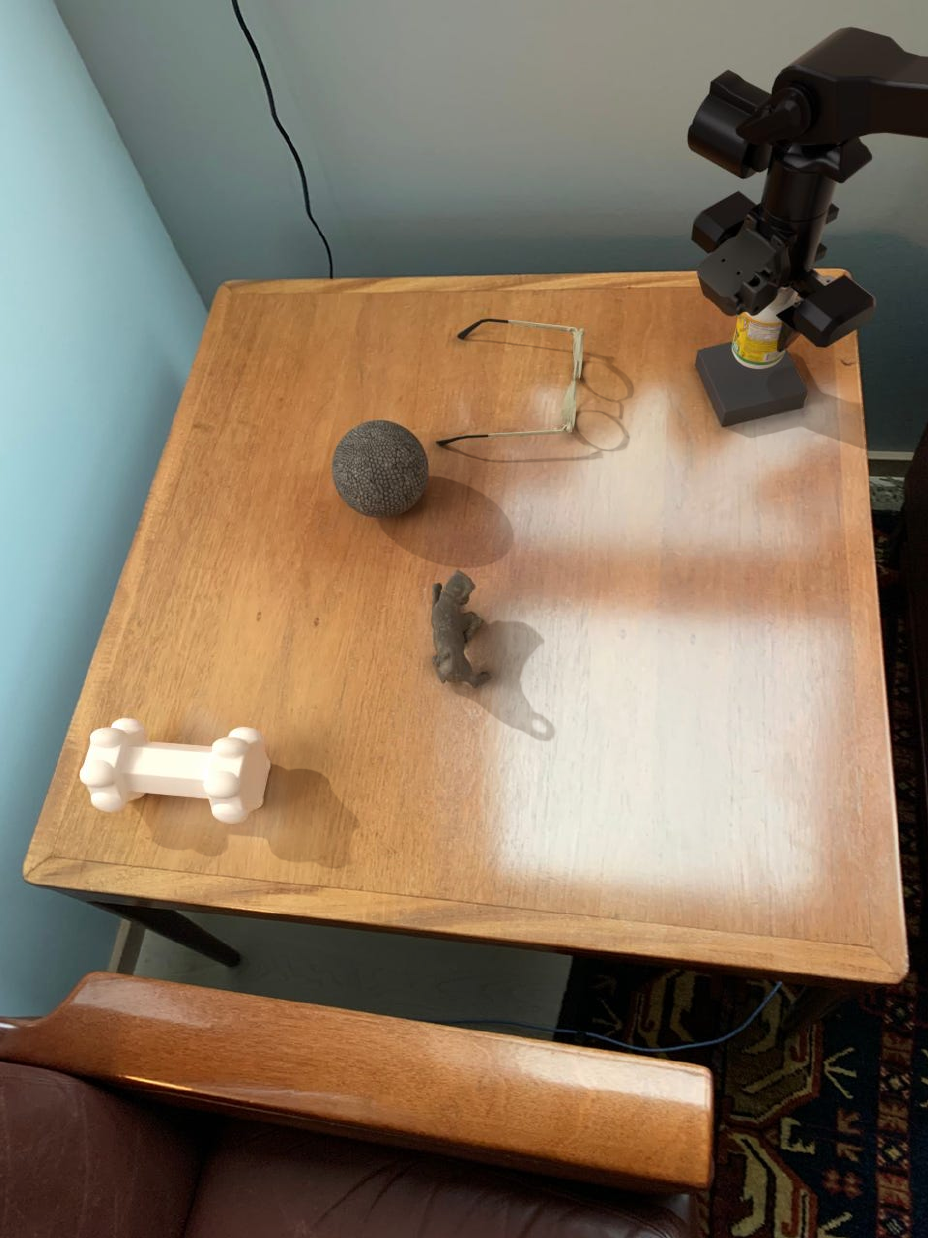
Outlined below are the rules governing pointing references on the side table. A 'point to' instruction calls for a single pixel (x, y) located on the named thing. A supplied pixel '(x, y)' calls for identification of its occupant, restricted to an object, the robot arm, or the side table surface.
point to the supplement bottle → (761, 333)
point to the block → (748, 385)
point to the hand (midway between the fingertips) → (762, 332)
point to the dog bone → (176, 769)
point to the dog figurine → (454, 630)
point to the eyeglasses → (571, 394)
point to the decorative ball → (380, 469)
